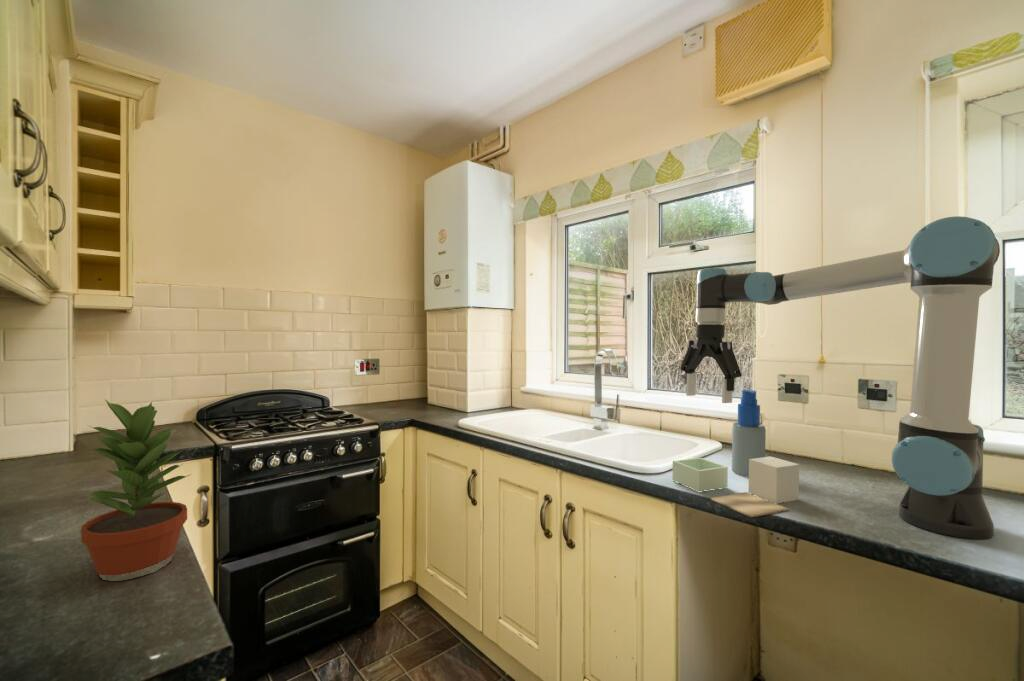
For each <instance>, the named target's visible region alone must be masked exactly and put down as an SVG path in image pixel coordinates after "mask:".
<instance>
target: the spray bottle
mask: <svg viewBox="0 0 1024 681" xmlns="http://www.w3.org/2000/svg"><path fill="white" fill-rule="evenodd" d="M760 423H761V405H760V404H758V399H757V391H756V390H751V389H742V390H741V398H740V403H738V404H737V422H733V423H732V428H731V430H732V433H731V434H732V435H731V440H732V442H731V447H732V449H731V472H732V471H733V472H734V474H735V473H736V474H735V475H738V474H739V475H738V476H741V475H742V476H741V477H746V476H747V477H748V478H749V459H755V458H762V457H766V436H767V435H766V433H767V432H766V426H765V425H763V424H760ZM733 472H732V473H733ZM747 477H746V478H747Z"/></svg>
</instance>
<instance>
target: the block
mask: <svg viewBox="0 0 1024 681" xmlns="http://www.w3.org/2000/svg"><path fill="white" fill-rule="evenodd" d="M799 488H800V464H799V463H796V462H792V461H788V460H786V459H785V460H784V459H781V458H777V457H774V456H765V457H762V458H755V459H749V477H748V493H751V494H753V495H756V496H758V497H760V498H763V499H766V500H768V501H771V502H773V503H776V504H778V505H779V504H782V502H784V503H788V502H793V501H799V494H800V489H799Z"/></svg>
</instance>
